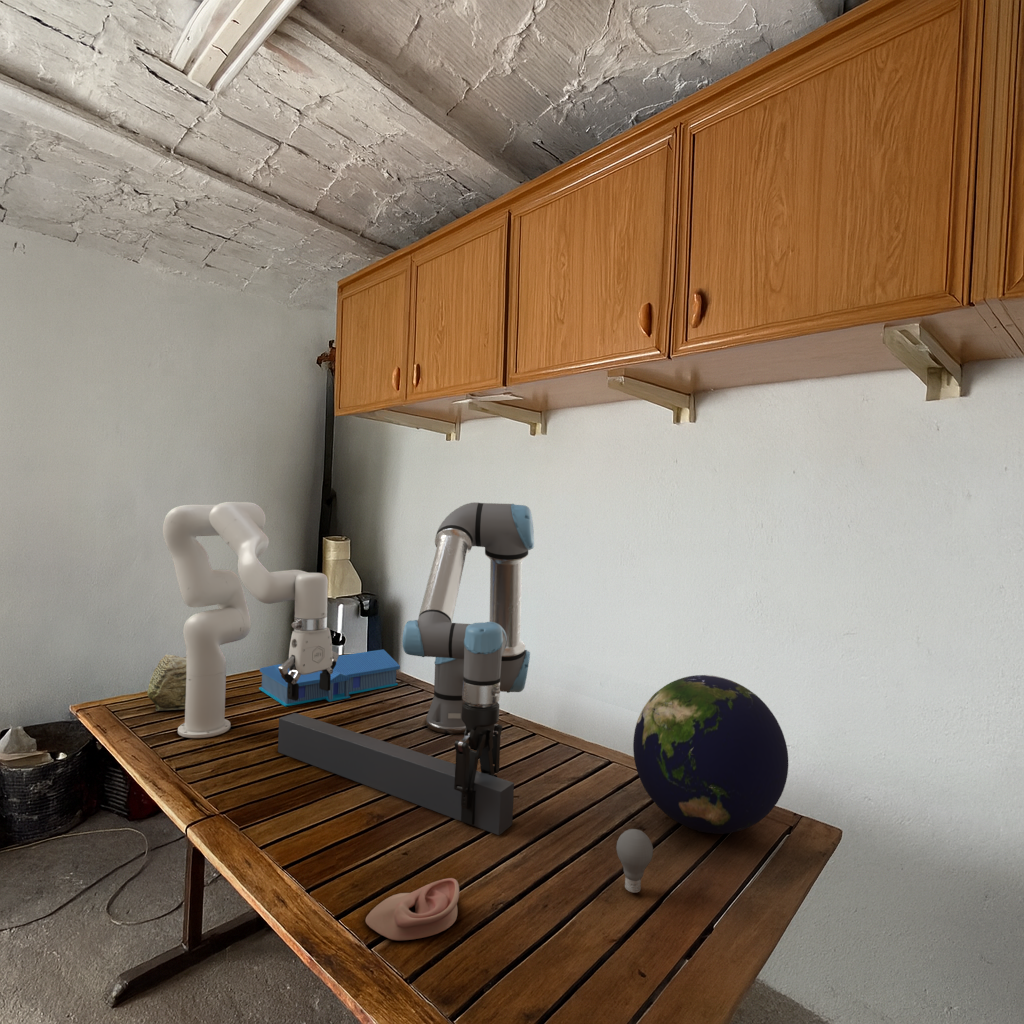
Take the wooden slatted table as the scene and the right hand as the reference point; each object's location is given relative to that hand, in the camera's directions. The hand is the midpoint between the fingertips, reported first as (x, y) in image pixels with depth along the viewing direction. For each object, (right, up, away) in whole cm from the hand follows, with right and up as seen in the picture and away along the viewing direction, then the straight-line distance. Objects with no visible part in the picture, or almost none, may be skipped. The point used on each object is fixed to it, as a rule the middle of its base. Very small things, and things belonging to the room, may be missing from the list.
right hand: (475, 816), depth 127 cm
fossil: (-89, +4, +58) cm, 106 cm away
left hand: (-42, +17, +26) cm, 52 cm away
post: (-21, +1, +13) cm, 25 cm away
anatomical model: (-8, -1, -31) cm, 32 cm away
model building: (-52, +3, +81) cm, 96 cm away
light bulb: (+27, -2, -22) cm, 35 cm away
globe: (+46, -3, +2) cm, 47 cm away
